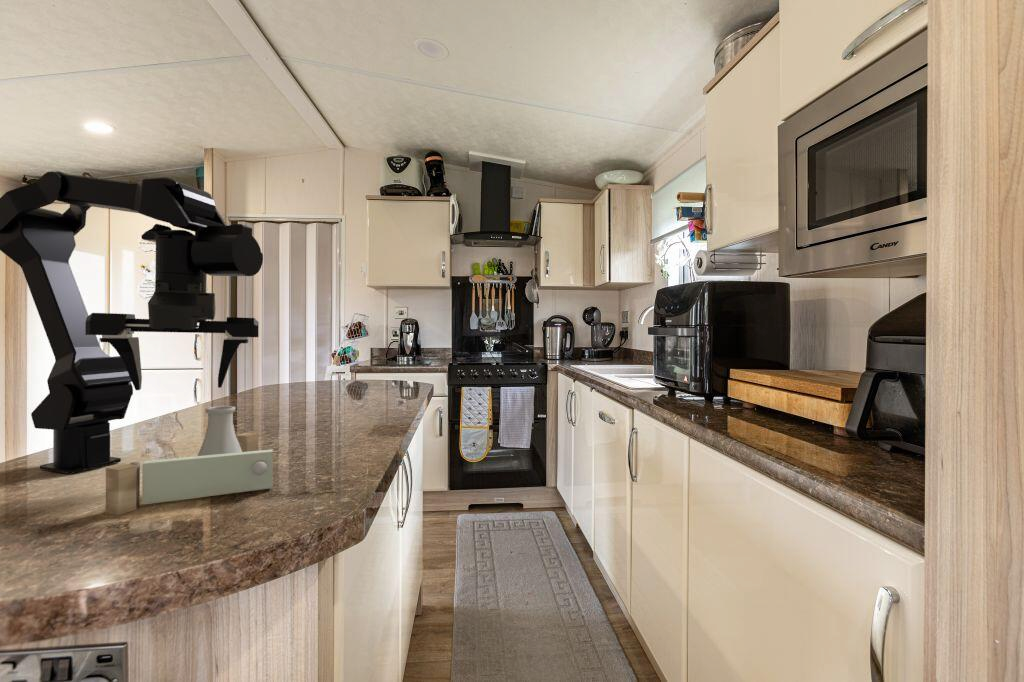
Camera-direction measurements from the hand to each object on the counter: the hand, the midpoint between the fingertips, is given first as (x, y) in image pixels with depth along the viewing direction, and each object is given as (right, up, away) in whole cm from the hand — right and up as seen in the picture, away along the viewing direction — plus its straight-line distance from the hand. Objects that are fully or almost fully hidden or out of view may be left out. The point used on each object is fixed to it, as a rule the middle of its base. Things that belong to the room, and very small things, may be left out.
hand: (180, 388), depth 63 cm
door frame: (+5, -12, -4) cm, 14 cm away
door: (+9, -12, -8) cm, 17 cm away
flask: (+7, -13, -2) cm, 14 cm away
